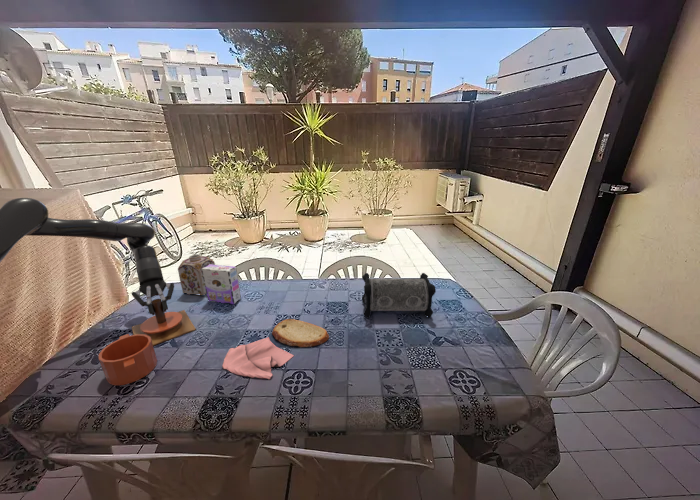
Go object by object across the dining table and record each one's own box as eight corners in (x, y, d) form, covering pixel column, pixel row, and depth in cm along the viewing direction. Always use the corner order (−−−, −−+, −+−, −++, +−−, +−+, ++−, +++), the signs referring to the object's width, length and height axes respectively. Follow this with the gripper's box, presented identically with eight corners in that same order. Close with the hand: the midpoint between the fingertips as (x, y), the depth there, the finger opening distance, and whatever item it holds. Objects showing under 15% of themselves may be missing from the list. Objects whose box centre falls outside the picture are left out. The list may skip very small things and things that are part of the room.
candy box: (241, 298, 126) (237, 266, 120) (233, 305, 120) (228, 271, 115) (216, 295, 129) (210, 263, 123) (207, 301, 123) (200, 268, 118)
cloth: (222, 349, 93) (221, 343, 92) (285, 333, 102) (285, 327, 101) (222, 394, 76) (221, 387, 75) (299, 370, 84) (299, 364, 83)
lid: (143, 340, 94) (135, 315, 91) (138, 323, 104) (131, 299, 100) (186, 324, 103) (181, 301, 99) (178, 310, 112) (173, 288, 109)
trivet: (137, 351, 92) (137, 350, 92) (131, 327, 104) (131, 326, 104) (196, 330, 103) (195, 328, 103) (184, 310, 116) (184, 309, 116)
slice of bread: (332, 340, 98) (332, 331, 97) (283, 358, 89) (283, 348, 88) (312, 316, 112) (312, 308, 111) (269, 329, 104) (268, 321, 103)
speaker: (361, 301, 124) (362, 271, 119) (423, 301, 124) (426, 271, 119) (363, 320, 110) (364, 287, 105) (433, 319, 110) (437, 286, 105)
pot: (108, 398, 74) (99, 374, 71) (106, 363, 87) (97, 341, 84) (162, 375, 82) (155, 352, 79) (152, 346, 94) (146, 325, 92)
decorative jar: (204, 296, 128) (197, 261, 122) (182, 294, 129) (174, 259, 123) (219, 285, 139) (214, 252, 133) (199, 283, 140) (192, 250, 134)
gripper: (171, 271, 112) (181, 309, 107) (128, 280, 104) (137, 322, 99) (170, 263, 106) (180, 303, 101) (124, 272, 98) (133, 316, 93)
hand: (159, 312), depth 100 cm, fingers closed on lid, 3 cm apart
